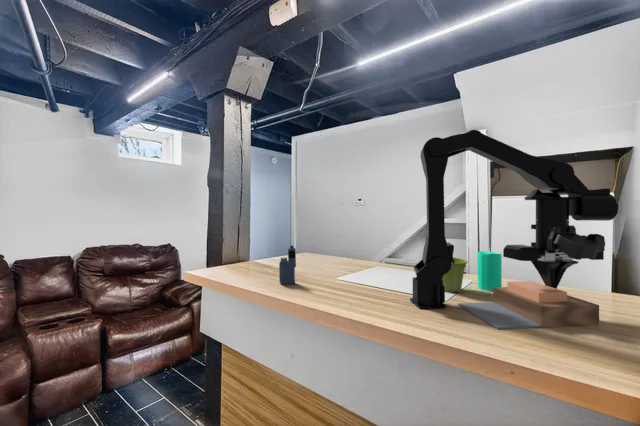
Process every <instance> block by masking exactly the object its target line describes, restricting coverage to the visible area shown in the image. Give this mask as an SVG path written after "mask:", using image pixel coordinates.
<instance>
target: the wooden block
mask: <svg viewBox="0 0 640 426" xmlns="http://www.w3.org/2000/svg"><path fill="white" fill-rule="evenodd" d="M492 293H493V294H492V302H494V303H496V304H498V305H500V306H502V307H504V308H506V309H508V310H510V311H513V312H515V313H517V314H519V315H521V316H523V317H525V318H527V319H529V320H531V321H533V322H536V323H538V324H540V325H542V327H541V328H562V327H563V328H565V327H588V326H589V327H593V326H600V305H599V304H596V303H593V302H590V301H587V300H584V299H580V298H578V297H575V296H572V295H569V294H567V302H537V301H534V300H532V299H529V298H526V297H524V296H521V295H519V294H516V293H514V292H511V291H508V290H507V286H505V287H504V286H502V287H493V291H492Z"/></svg>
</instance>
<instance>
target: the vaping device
mask: <svg viewBox="0 0 640 426" xmlns="http://www.w3.org/2000/svg"><path fill="white" fill-rule="evenodd" d="M287 250H288V251H287V254H288V255H287V257H283V256H282V257H280V261H279V266H278V267H279V271H278V272H279V276H278V277H279V279H278V280H279V284H280V285H295V284H296V267H297V260H296V259H297V257H296V255H297V251H296V247H295V248H294V245H289V248H288V249H287Z"/></svg>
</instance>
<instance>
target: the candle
mask: <svg viewBox="0 0 640 426" xmlns="http://www.w3.org/2000/svg"><path fill="white" fill-rule="evenodd" d="M488 249H489V250H488V251H478V252H477V288H478V289H480V290H482V291H487V292H493V287H503V286H502V284H503V283H502V281H503V279H502V277H503V276H502V273H503V272H502V268H503V267H502V266H503V265H502V252H493V251H491V248H490V247H488Z"/></svg>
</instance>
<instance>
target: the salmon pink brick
mask: <svg viewBox="0 0 640 426" xmlns="http://www.w3.org/2000/svg"><path fill="white" fill-rule="evenodd" d="M506 287H507V290H508V291H511V292H514V293H516V294H519V295H521V296H524V297H526V298H529V299H532V300H534V301H537V302H567V295H568V292H567V291H565V290H562V289H559V288H557V289H556V288H552V287H549V286H546V285H545V284H542V283H539V282H536V281H533V280H525V281H523V280H521V281H507V285H506Z"/></svg>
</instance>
